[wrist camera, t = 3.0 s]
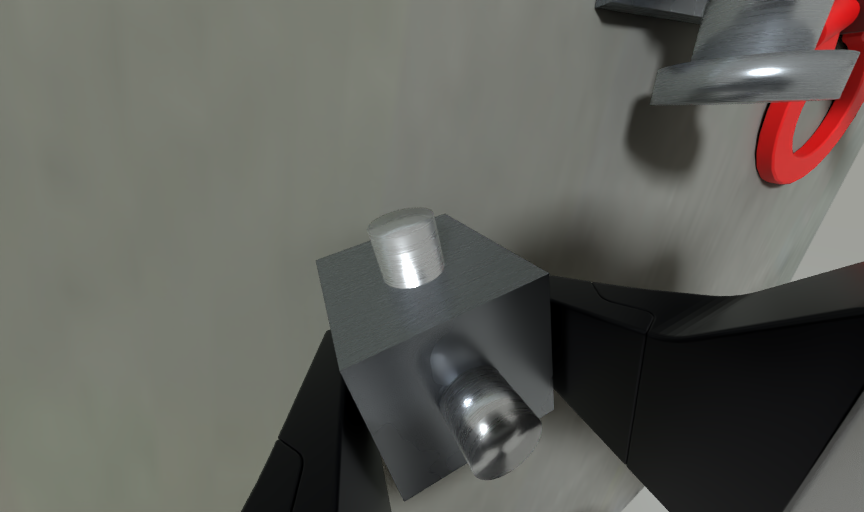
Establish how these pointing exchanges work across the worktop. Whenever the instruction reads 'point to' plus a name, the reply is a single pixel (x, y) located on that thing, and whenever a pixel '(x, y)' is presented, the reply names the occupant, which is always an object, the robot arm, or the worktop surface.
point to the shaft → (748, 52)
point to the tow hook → (860, 25)
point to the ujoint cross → (441, 346)
